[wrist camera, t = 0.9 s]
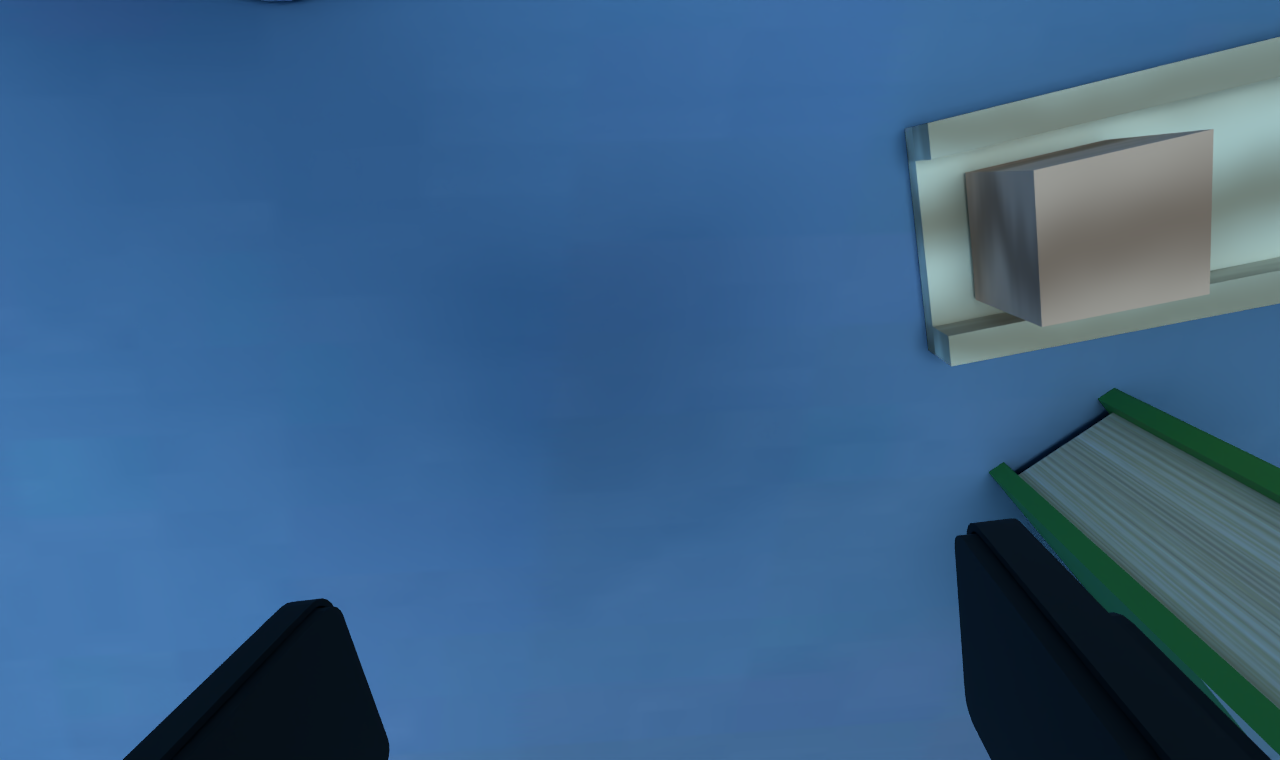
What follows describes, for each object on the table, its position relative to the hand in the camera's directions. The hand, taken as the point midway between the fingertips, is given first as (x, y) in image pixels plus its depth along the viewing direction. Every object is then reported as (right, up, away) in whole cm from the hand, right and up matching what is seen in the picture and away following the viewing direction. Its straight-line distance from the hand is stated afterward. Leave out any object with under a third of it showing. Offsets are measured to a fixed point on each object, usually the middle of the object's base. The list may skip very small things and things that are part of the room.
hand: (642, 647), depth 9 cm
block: (+18, +11, +20) cm, 29 cm away
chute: (+23, +13, +20) cm, 33 cm away
